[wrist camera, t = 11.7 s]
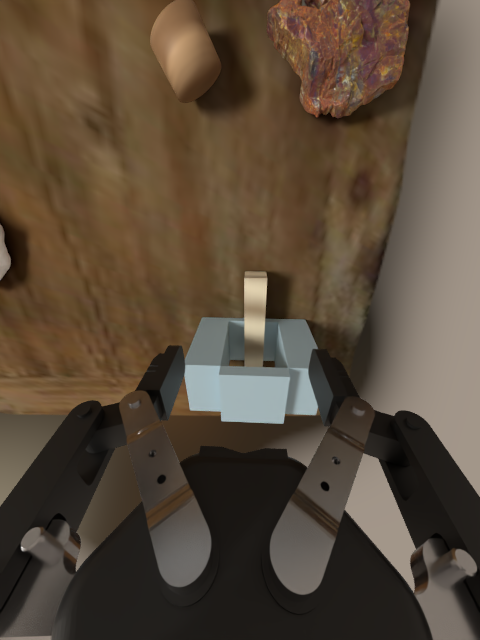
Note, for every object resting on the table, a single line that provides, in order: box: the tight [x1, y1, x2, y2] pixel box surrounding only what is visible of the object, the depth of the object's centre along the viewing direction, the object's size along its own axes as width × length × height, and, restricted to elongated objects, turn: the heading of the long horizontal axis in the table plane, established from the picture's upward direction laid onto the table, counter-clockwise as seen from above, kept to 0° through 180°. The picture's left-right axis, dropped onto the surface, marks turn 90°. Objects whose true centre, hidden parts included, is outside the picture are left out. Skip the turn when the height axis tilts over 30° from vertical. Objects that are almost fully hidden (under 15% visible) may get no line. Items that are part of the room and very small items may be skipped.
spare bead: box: [150, 0, 221, 103], centre depth 21 cm, size 4×5×5 cm
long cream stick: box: [244, 271, 267, 367], centre depth 36 cm, size 22×3×3 cm, turn 1°
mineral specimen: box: [267, 0, 410, 118], centre depth 20 cm, size 12×8×7 cm
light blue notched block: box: [184, 317, 318, 424], centre depth 33 cm, size 8×17×14 cm, turn 90°
